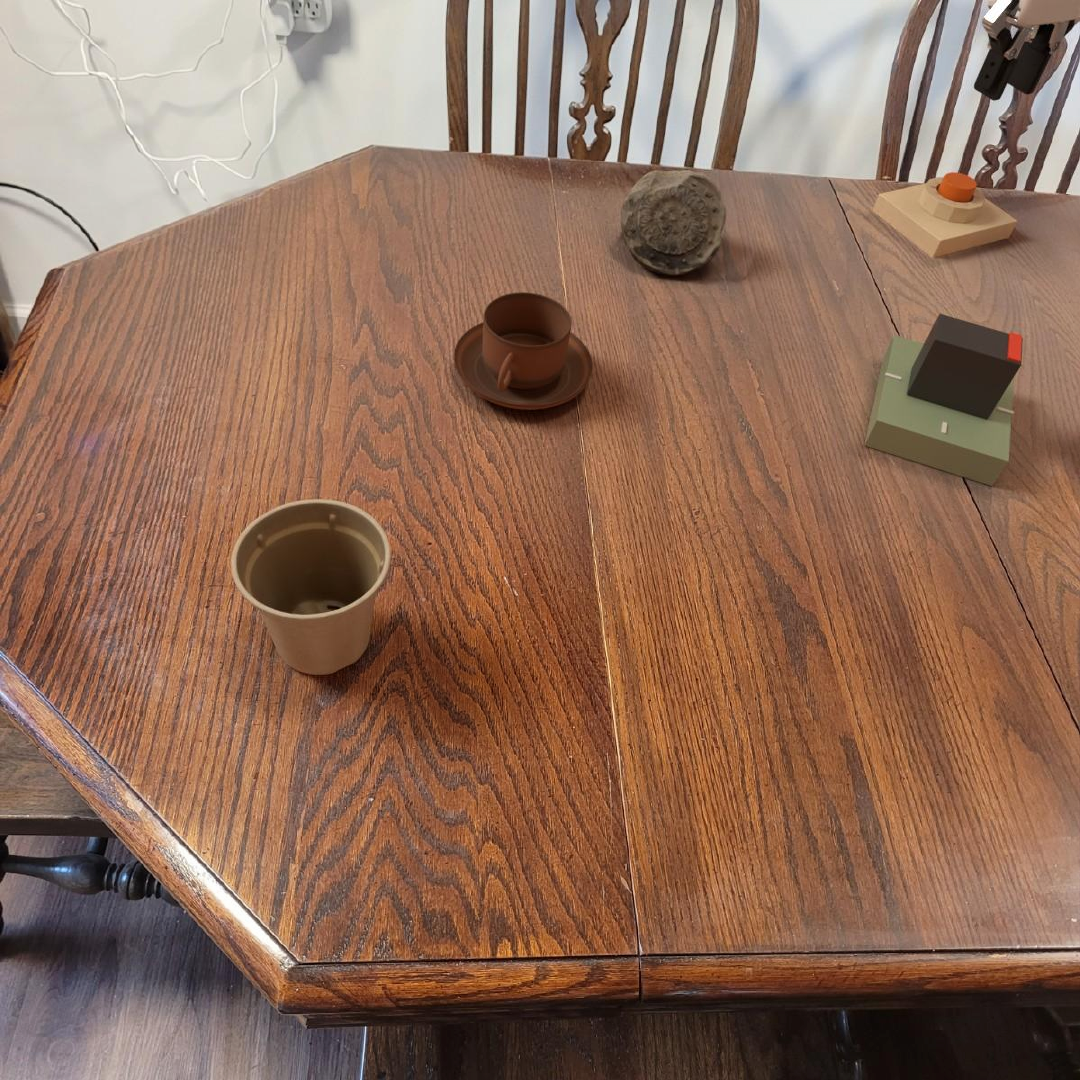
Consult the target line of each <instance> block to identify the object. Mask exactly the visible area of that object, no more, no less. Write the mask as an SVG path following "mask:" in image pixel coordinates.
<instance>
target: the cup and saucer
mask: <svg viewBox="0 0 1080 1080" xmlns="http://www.w3.org/2000/svg"><path fill="white" fill-rule="evenodd" d="M572 323H573V322H572V318H571V314H570V312H569V311H568V310H567V308H566V307H564V306H563V305H562V304H561V303H560V302H558V301H557V300H555V299H553V298H551V297H549V296H546V295H543V294H540V293H536V292H527V291H526V292H525V291H524V292H523V291H522V292H521V291H520V292H511V293H507V294H503V295H501V296H497V297H496V298H494V299H493V300H492V301H490V302H489V303H488V304H487V306H486V307H485V310H484V312H483V321H482V322H480V323H477V324H476V325H474V326H472V327H471V328H469V329H468V330H466V331H465V333H463V334H462V335H461V337H460V338H459V339H458V341H457V342H456V345H455V348H454V352H453V360H454V362H453V363H454V366H455V370H456V372H457V375H458V376H459V378H460V380H461V381H462V382H463V384H464V385H465V386H466V387H467V388H468V389H469V390H470V391H472V392H473V393H474V394H476V395H477V396H479V397H480V398H482V399H484V400H486V401H488V402H490V403H493V404H495V405H498V406H501V407H504V408H509V409H514V410H523V411H526V410H527V411H531V410H533V411H535V410H543V409H549V408H553V407H556V406H560V405H562V404H565V403H567V402H568V401H571V400H573V399H574V398H576V397H577V396H578V395H579V394H580V393H581V392H582V391H584V389H585V387H587V385H588V383H589V381H590V379H591V376H592V373H593V360H592V359H593V358H592V355H591V353H590V351H589V349H588V348H587V346H586V345H585V344H584V342H583V341H582V340H581V339H580V338H579V337H578V336H577V335H575V334H574V333H573V332H572V325H573V324H572Z"/></svg>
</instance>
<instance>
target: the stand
mask: <svg viewBox="0 0 1080 1080" xmlns="http://www.w3.org/2000/svg"><path fill="white" fill-rule="evenodd" d="M923 345H924V343H923V342H919V341H917V340H914V339H913V340H912V339H909V338H906V337H903V336H900V335H895V334H894V335H893V337H892V339H891V341H890V344H889V346H888V348H887V349H886V352H885V354H884V356H883V358H882V361H881V364H880V365H881V366H880V370H879V375H878V380H877V384H876V389H875V393H874V397H873V402H872V406H871V412H870V416H869V420H868V424H867V425H868V426H867V431H866V434H865V440H864V444H863V445H864V446H865V447H868V448H871V449H874V450H876V451H881V452H883V453H886V454H889V455H892V456H896V457H899V458H902V459H906V460H908V461H911V462H915V463H917V464H921V465H924V466H927V467H931V468H933V469H938V470H940V471H943V472H946V473H949V474H952V475H956V476H958V477H962V478H965V479H968V480H971V481H974V482H978V483H981V484H984V485H987V486H990V487H993V485H995V483H996V481H997V480H998V479H999V477H1000V476H1001V474H1002V472H1003V471H1004V469H1005V468H1006V467H1007V465H1008V463H1009V461H1010V448H1011V434H1012V433H1011V432H1012V416H1014V414H1015V411H1014V410H1013V398H1014V384H1015V383H1014V382H1015V381H1014V379H1015V377H1014V378H1013V379H1012V381H1011V383H1010V384H1009V386H1008V387H1007V389H1006V391H1005V392H1004V394H1003V396H1002V397H1001V399H1000V400H999V402H998V404H997V405H996V407H995V409H994V410H993V412H992V413H991V415H990V417H989V418H988V419H984V418H981V417H978V416H974V415H971V414H968V413H965V412H961V411H958V410H955V409H952V408H948V407H945V406H942V405H939V404H935V403H932V402H929V401H926V400H923V399H919V398H916V397H913V396H910V395H907V390H908V385H909V380H910V374H911V369H912V366H913V365H914V363H915V361H916V359H917V357H918V355H919V353H920V351H921V349H922V347H923Z"/></svg>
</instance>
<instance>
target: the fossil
mask: <svg viewBox="0 0 1080 1080" xmlns="http://www.w3.org/2000/svg"><path fill="white" fill-rule="evenodd" d="M726 219H727V208H726V206H725V204H723V201H722V195H721V191H720V188H719V186H718V185H717V184H716V182H715V181H714V180H713V179H712V178H711V177H710V176H709V175H707V174H705V173H702V172H696V171H694V170H689V169H682V170H678V169H674V170H656V169H654V170H652V171H649V172H647V173H646V174H644V175H643V176H641V178H639V180H637V182H636V183H635V184H634V185H633V187H632V188H631V189H629V192H628V193H627V194H626V196H625V198H624V200H623V202H622V205H621V210H620V228H621V236H622V239H623V242H624V244H625V245H626V246H627V249H628V251H629V253H630V255H631V257H632V258H633V260H634V261H635V262H636V263H638V264H640V266H642V267H644V268H645V269H647V270H648V271H651V272H653V273H656V274H658V275H662V276H667V277H670V276H671V277H676V276H683V275H687V274H690V273H693V272H695V271H697V270H699V269H701V268H702V267H705V266H706V264H708V263H709V262H710V261H711V260H712V259H713V258H714V257H715V256H716V255H717V254H718V252H719V250H720V248H721V247H722V234H723V231H724V226H725V225H726Z"/></svg>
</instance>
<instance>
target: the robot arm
mask: <svg viewBox="0 0 1080 1080" xmlns="http://www.w3.org/2000/svg"><path fill="white" fill-rule="evenodd" d="M987 8H988V9H989V10H988V11H987V13H986V14H985V15H984V17H983V18H982V20H981V26H982V27H983V29H984V30H985V31H986V33H987V37H988V42H987V45H986V46H987V49H988V52H987V54H986V56H985V58H984V61H983V63H982V65H981V68H980V70H979V73H978V75H977V77H976V79H975V81H974V84H973V89H974V90H975V91H977V92H978V93H980V94H981V95H983V96H985V97H987V98H988V99H990V100H991V101H999V100H1001V98H1002V96H1003V94H1004V92H1005V90H1006V88H1007V86H1008V85H1010V86H1011V87H1013V88H1014V89H1016V90H1018V91H1019V92H1021V93H1023V94H1024V95H1031V94H1034V92H1035V90H1036V88H1037V86H1038V84H1039V82H1040V79H1041V78H1042V76H1043V74H1044V72H1045V70H1046V68H1047V65H1048V63H1049V61H1050V60H1051V57H1052V54H1054V53H1056V52H1057V51H1058V50H1059V49H1060V47H1061V44H1062V42H1063V39H1064V38H1065V37H1066V36H1067V35H1069V33H1070V32H1071V31H1072V30H1073V29H1074V27H1075V26H1076V25H1077V24H1079V23H1080V0H987ZM1018 12H1019V13H1018ZM1017 13H1018V15H1017V16H1016V14H1017ZM1011 26H1012V27H1014V28H1016V29H1017V30H1016V32H1015V33H1014V35H1012V31H1011V30H1010V28H1011ZM1031 30H1032V32H1031ZM1030 32H1031V35H1030V38H1029V40H1026V39H1027V38H1028V35H1029V34H1030ZM1012 36H1013V37H1012ZM1015 57H1016V58H1015Z"/></svg>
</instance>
